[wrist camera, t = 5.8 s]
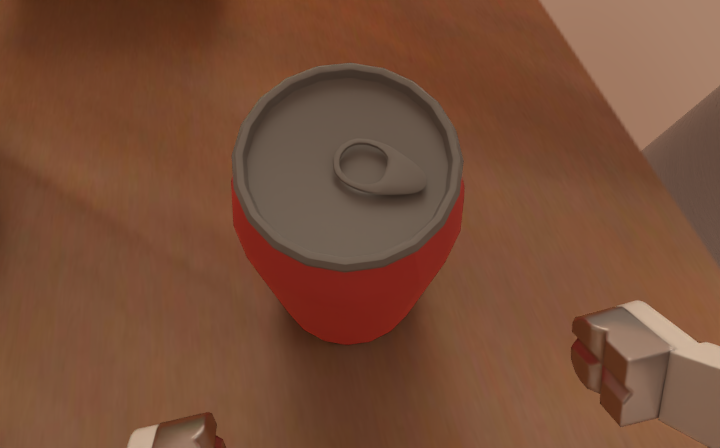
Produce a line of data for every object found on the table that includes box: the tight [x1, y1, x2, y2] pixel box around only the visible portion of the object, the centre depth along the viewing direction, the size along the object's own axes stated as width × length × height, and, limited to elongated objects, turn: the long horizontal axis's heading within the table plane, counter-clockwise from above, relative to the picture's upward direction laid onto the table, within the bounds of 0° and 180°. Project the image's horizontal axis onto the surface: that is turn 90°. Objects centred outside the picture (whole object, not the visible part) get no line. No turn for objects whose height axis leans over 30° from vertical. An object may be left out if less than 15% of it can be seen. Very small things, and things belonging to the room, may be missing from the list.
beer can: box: [231, 63, 464, 345], centre depth 17 cm, size 7×7×12 cm
